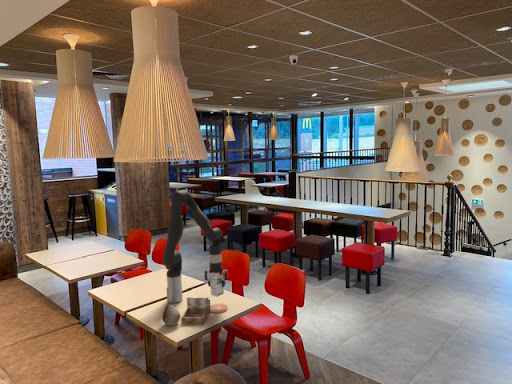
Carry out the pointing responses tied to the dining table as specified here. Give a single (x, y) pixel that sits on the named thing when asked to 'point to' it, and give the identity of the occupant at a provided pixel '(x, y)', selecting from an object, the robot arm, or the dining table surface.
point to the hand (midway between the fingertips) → (216, 286)
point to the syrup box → (216, 285)
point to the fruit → (170, 315)
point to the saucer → (218, 308)
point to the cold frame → (196, 310)
